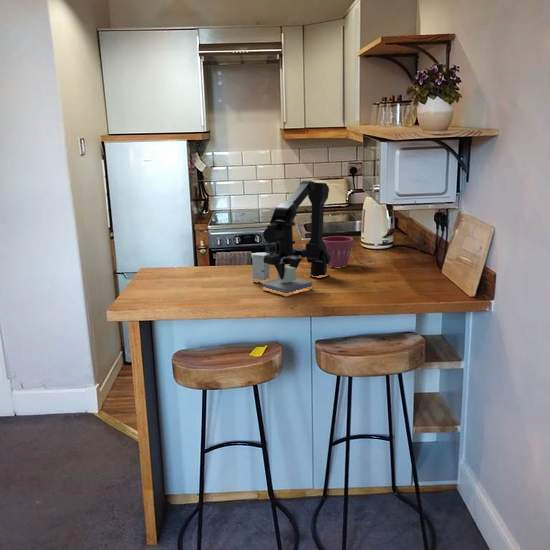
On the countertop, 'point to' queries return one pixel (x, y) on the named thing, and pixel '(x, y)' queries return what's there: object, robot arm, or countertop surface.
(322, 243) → the robot arm
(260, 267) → the skincare box
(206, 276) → the countertop surface
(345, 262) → the plant pot
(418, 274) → the countertop surface
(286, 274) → the green cube
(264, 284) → the base
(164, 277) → the countertop surface
